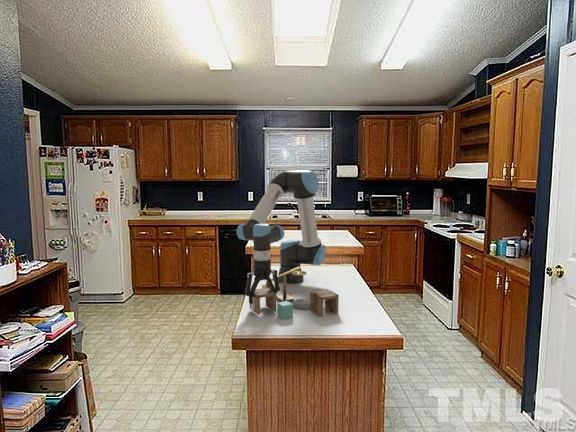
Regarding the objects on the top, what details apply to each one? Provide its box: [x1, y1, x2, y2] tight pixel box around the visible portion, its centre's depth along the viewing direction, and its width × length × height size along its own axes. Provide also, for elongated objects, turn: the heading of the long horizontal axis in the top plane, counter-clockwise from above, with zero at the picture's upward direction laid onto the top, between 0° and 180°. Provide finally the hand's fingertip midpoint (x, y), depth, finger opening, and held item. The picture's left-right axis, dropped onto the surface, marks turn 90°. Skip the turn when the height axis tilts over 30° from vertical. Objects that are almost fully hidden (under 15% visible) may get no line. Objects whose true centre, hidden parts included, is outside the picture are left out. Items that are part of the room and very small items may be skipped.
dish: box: [291, 298, 310, 311], centre depth 186 cm, size 12×12×1 cm
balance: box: [261, 266, 307, 303], centre depth 193 cm, size 8×23×16 cm, turn 117°
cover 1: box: [249, 287, 277, 315], centre depth 177 cm, size 9×9×8 cm
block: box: [276, 301, 294, 321], centre depth 171 cm, size 5×5×6 cm
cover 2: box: [309, 289, 339, 318], centre depth 177 cm, size 9×9×8 cm
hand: (262, 308), depth 178 cm, fingers closed on cover 1, 9 cm apart
